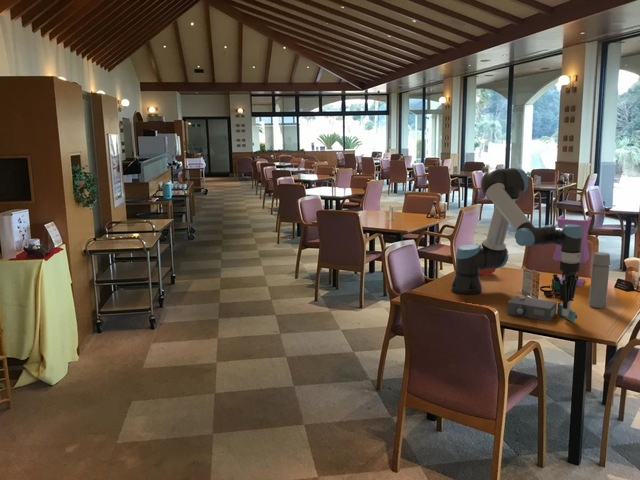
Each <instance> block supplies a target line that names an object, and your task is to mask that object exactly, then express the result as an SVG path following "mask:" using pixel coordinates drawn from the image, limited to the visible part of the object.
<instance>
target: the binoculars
mask: <svg viewBox="0 0 640 480" xmlns="http://www.w3.org/2000/svg"><path fill="white" fill-rule="evenodd" d="M558 276H559V275H558V274H557V273H556V274H552V277H553V278H551V284H549V285H542V286H540V287H539V290H540V292H543V295H544V296H545V298H551V297H552V298H553V297H554V298H557V299H560V287H559V282H558V281H559V277H558ZM547 289H549V290H547Z"/></svg>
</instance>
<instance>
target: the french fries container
mask: <svg viewBox="0 0 640 480" xmlns="http://www.w3.org/2000/svg"><path fill="white" fill-rule="evenodd" d="M475 244H476V245H479V246H480V247H482V244H478V243H475ZM495 271H496V269H483V270H479V276H491V275H492V274H493V273H494V272H495Z"/></svg>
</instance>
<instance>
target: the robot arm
mask: <svg viewBox="0 0 640 480" xmlns="http://www.w3.org/2000/svg"><path fill="white" fill-rule="evenodd" d="M528 187H529V177H528V175H527V172H525V170H523V169H522V168H519V167H510V168H507V167H506V168H492V169H489V170H487V171H486V172H485V173H484V175H483V176H482V178H481V180H480V189H481V191H482V193H483V195H484V196H485V198H486V199H487V200H491V202H492V203H493V204H494V209H493V212H492V216H491V221H490V224H489V228H488V233H487V237H486V238H485V239H484V240H483V241H482V242H481V247H480V246H479V245H480V244H478V245H476V244H477V243H475V244H473V243H472V244H468V243H467V244H461V245H460V246H458V247H457V248H456V251H455V253H456V254H455V273H454V278H453V281H452V284H451V288H450V289H451V291H452V292H454V293H456V294H462V295H478V294H481V293H482V292H483V287H482V284H481V279H480V274H479V270H483V269H495V270H496V269H499V268H503V267H504V266H505V265H507V263H508V261H509V251H508V248H507V245H506V244H505V241H506V236H507V232H508V229H509V225H510V226H511V228H512V229H513V231H514V232H515V233H514V239H515V242H516V244H517V245H518V246H520V247H531V246H541V245H543V246H544V245H556V246H557V245H561V246H562V247H561V258H560V260H561V261H560V262H559V270H560V271H562V274H561V276H562V279H559V281H558V282H559V287H560V298H559V300H560V301H562V305H563V307H562V315H564V316H570V309H571V303H572V302H574V301H575V300H574V298H575V294H576V290H577V286H576V285H577V280H578V278H579V275H577V273H578V272H580V266H581V265H580V264H581V263H579V261H580V257H581V255H580V252H581V242H582V227H581V226H580V225H574V224H566V225H564V226H563V228H561V227H558V225H553V224H552V225H551V224H545V226H542V227H541V226H540V227H535V225H533V223H532V222H531V221H530V219H529V218H528V217H527V216H526V215H525V213H524V212H523V211H522V209H521V208H520V207H519V206H518V205H517V203H516V201H517V200H519V199H520V197H521V194H522V193H525V192H526V191H527V189H528Z"/></svg>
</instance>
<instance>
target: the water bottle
mask: <svg viewBox="0 0 640 480" xmlns="http://www.w3.org/2000/svg"><path fill="white" fill-rule="evenodd" d="M591 264H592V265H591V272H590V284H589V286H590V287H589V295H588V296H589V297H588V298H589V299H588V305H589V307H591V308H595V309H603V308H606V306H607V298H608V285H609V276H610V275H609V273H610V266H611V255H610V253H609V252H603V251H602V252H601V251H598V252H597V251H596V252H594V253H593V256H592V261H591Z"/></svg>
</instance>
